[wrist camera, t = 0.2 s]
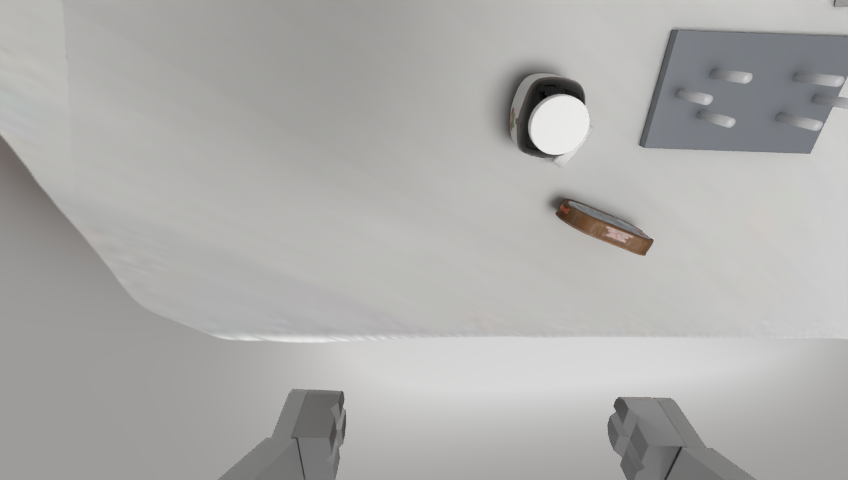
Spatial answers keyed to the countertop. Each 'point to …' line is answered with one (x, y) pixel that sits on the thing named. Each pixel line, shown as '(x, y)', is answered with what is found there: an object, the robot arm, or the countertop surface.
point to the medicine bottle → (841, 3)
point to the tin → (604, 227)
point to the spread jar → (549, 117)
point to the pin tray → (746, 91)
